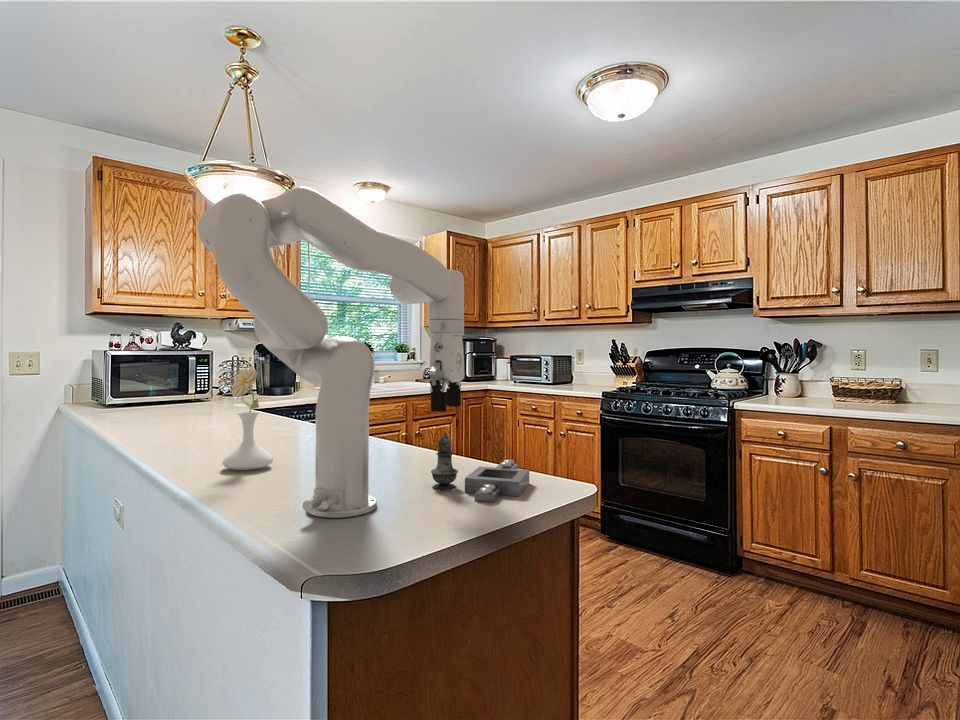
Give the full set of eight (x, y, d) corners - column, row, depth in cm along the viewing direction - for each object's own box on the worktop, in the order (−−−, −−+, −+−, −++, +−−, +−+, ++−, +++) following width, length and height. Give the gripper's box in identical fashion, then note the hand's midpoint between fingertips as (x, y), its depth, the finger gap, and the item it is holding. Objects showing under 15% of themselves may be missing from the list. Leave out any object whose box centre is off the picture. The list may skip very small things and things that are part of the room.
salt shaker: (425, 487, 115) (425, 431, 115) (446, 482, 119) (447, 429, 119) (441, 492, 110) (442, 434, 110) (463, 488, 114) (464, 432, 114)
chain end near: (513, 504, 102) (513, 492, 102) (456, 499, 106) (456, 487, 105) (529, 483, 119) (529, 473, 119) (479, 479, 122) (479, 469, 122)
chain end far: (519, 496, 108) (519, 478, 108) (464, 492, 111) (464, 474, 111) (533, 477, 125) (533, 461, 125) (485, 473, 128) (486, 458, 128)
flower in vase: (219, 466, 133) (219, 365, 132) (268, 461, 139) (268, 365, 138) (226, 477, 122) (227, 367, 121) (279, 471, 128) (279, 367, 127)
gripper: (450, 327, 105) (450, 414, 105) (474, 329, 121) (474, 405, 122) (414, 327, 107) (414, 413, 107) (443, 330, 123) (443, 404, 124)
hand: (446, 408), depth 115 cm, fingers open, 9 cm apart
